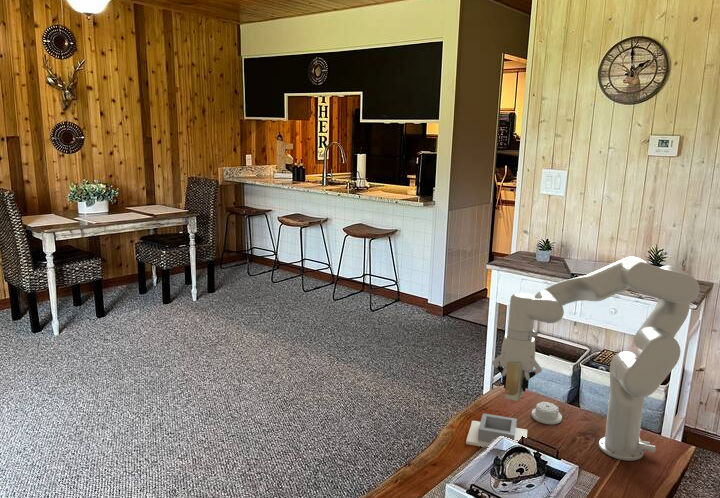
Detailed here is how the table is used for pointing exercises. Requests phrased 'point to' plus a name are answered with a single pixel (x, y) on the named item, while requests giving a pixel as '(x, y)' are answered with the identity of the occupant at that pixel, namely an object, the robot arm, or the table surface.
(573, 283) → the robot arm
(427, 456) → the table surface
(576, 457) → the table surface
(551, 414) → the mechanical component
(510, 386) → the skincare box
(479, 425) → the square socket base
